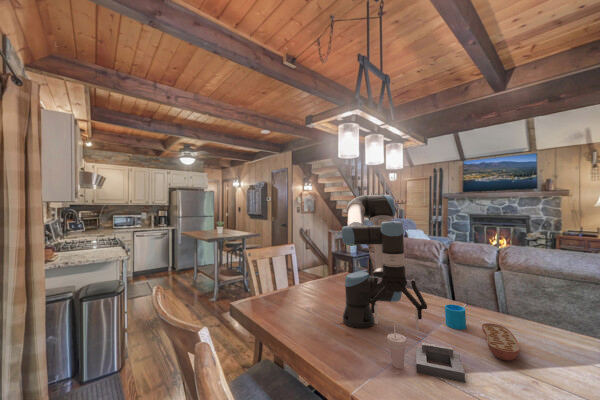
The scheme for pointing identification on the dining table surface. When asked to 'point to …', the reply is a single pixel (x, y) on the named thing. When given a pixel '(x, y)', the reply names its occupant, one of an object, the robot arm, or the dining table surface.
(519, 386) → the dining table surface
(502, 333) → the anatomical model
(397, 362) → the smoothie
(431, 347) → the jig
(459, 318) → the mug
